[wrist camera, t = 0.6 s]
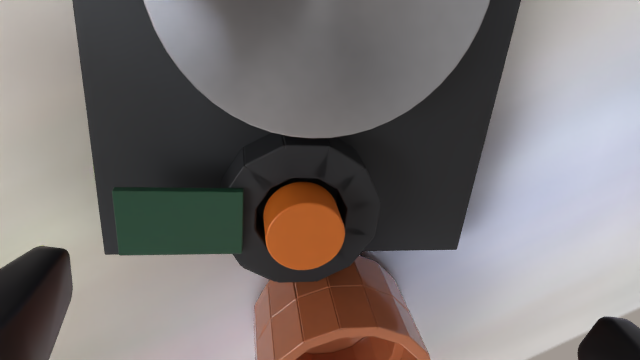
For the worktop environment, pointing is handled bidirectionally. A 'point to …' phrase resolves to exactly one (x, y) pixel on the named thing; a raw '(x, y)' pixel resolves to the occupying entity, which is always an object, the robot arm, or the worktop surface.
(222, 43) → the scale pan
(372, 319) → the bowl
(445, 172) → the scale
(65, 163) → the worktop surface
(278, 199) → the button
